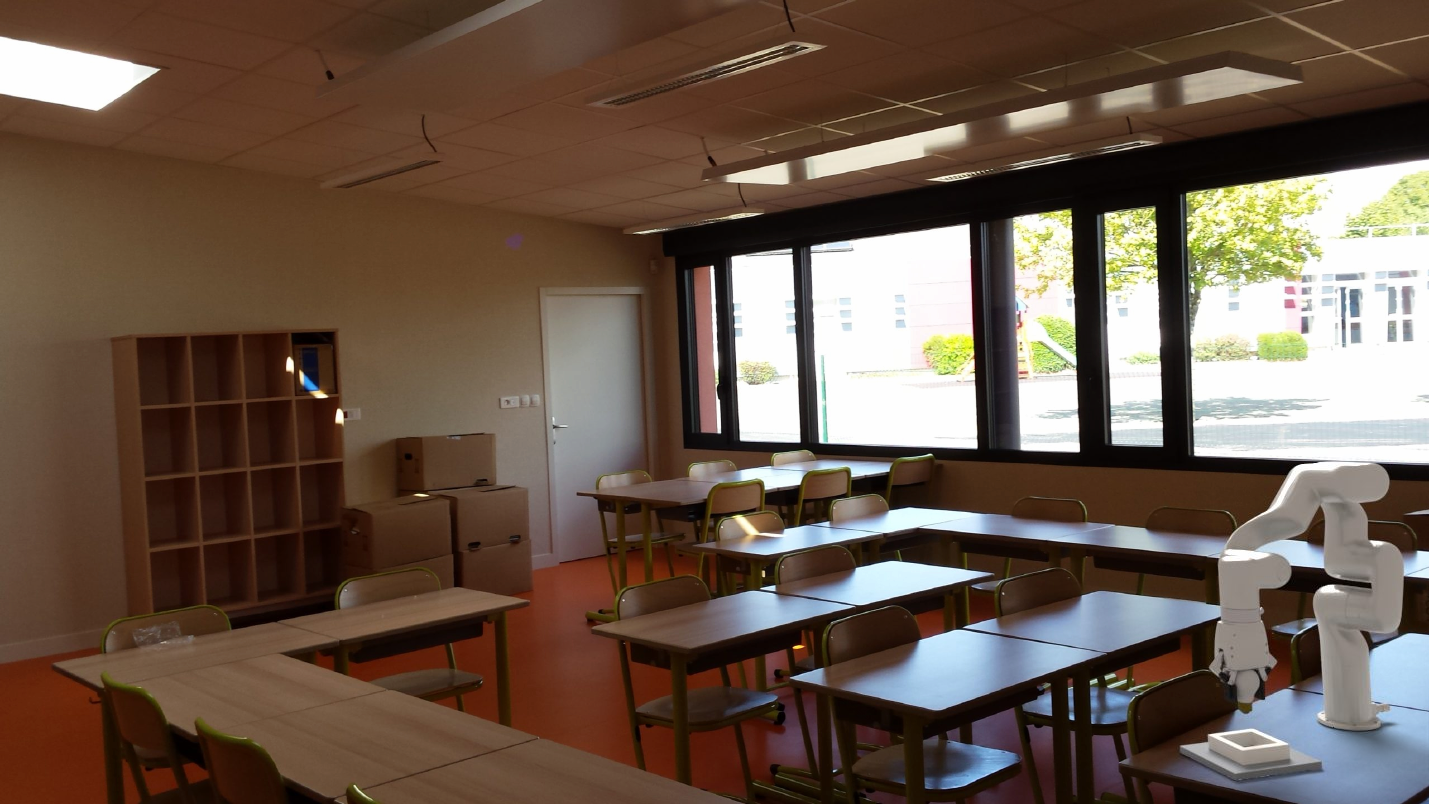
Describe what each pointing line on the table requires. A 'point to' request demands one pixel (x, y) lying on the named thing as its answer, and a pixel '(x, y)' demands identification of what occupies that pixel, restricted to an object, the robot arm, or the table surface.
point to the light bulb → (1246, 689)
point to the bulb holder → (1249, 755)
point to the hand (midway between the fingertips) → (1245, 699)
